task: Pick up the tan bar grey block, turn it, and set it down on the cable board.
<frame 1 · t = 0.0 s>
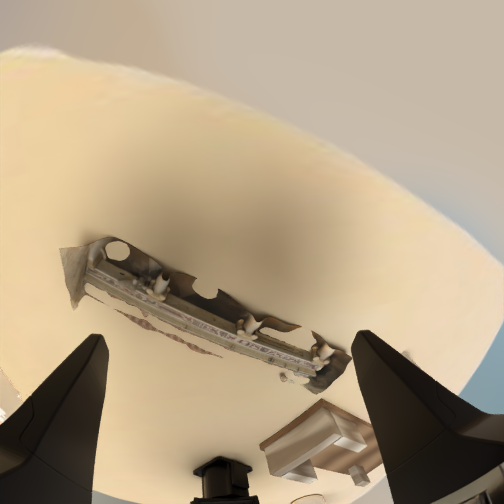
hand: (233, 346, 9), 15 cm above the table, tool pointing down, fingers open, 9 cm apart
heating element: (217, 325, 27), on the table
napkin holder: (21, 394, 27), on the table
water bottle: (305, 500, 41), on the table
cable board: (348, 447, 36), on the table
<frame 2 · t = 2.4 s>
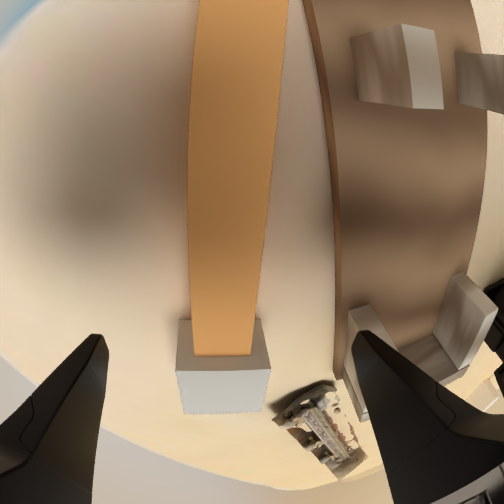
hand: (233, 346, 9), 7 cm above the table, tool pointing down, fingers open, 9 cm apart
tan bar grey block: (223, 211, 14), on the table
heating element: (328, 430, 31), on the table
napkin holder: (463, 398, 39), on the table
cable board: (416, 193, 14), on the table
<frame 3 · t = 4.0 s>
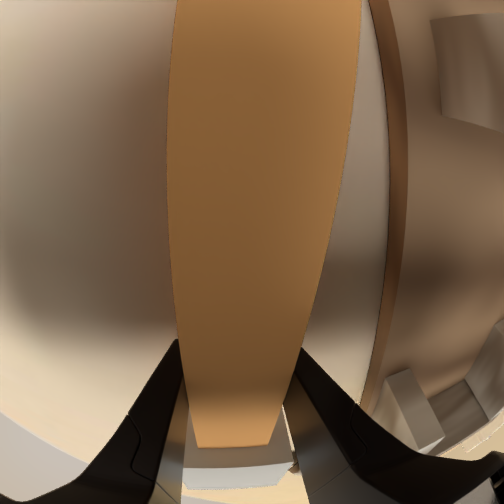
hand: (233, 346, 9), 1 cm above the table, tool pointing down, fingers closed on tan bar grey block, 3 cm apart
tan bar grey block: (233, 277, 9), on the table, touching gripper
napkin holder: (475, 418, 34), on the table
cable board: (479, 236, 10), on the table
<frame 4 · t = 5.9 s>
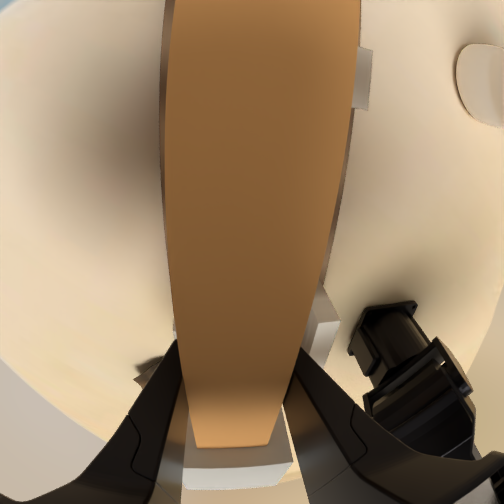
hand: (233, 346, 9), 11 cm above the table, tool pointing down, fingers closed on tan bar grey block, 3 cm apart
tan bar grey block: (232, 276, 9), point 9 cm above the table, touching gripper
water bottle: (475, 82, 15), on the table
cable board: (254, 185, 17), on the table
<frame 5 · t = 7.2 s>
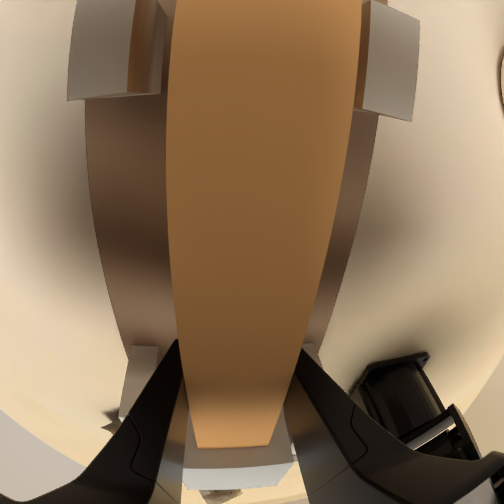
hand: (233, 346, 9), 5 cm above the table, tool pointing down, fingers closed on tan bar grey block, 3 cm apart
tan bar grey block: (233, 276, 9), point 4 cm above the table, touching gripper
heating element: (189, 457, 27), on the table
cable board: (226, 226, 12), on the table
when the fingers open (4 cm above the table, at t = 8.1 s): tan bar grey block drops 2 cm, resting on cable board.
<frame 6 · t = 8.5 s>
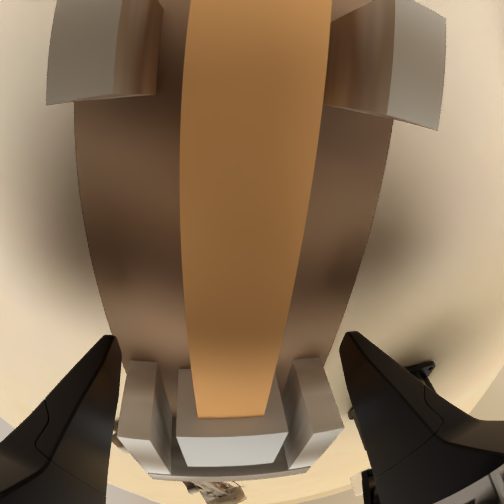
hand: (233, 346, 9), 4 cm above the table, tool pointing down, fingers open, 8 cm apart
tan bar grey block: (231, 252, 11), point 1 cm above the table, touching cable board
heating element: (193, 464, 26), on the table
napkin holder: (367, 465, 40), on the table
cable board: (228, 238, 11), on the table
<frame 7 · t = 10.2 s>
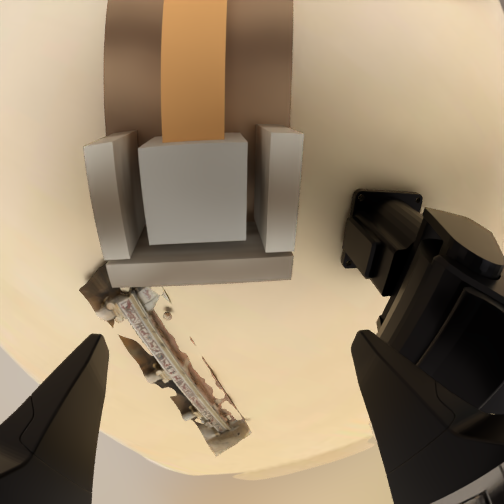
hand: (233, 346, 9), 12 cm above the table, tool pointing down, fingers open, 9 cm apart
tan bar grey block: (197, 22, 12), point 1 cm above the table, touching cable board
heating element: (185, 369, 28), on the table
cable board: (197, 25, 13), on the table
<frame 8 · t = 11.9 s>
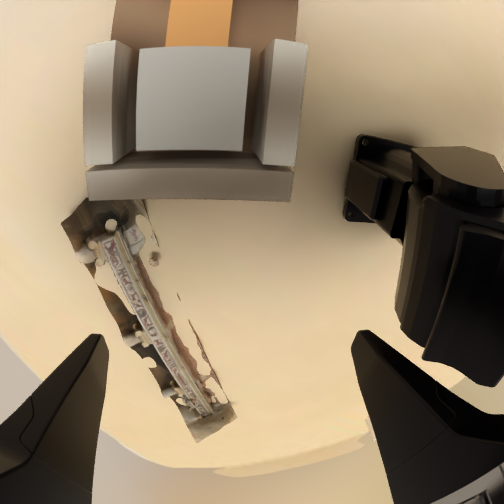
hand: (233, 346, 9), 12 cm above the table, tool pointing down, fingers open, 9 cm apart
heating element: (168, 335, 26), on the table
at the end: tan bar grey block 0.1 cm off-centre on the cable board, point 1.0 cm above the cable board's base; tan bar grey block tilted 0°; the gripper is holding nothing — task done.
